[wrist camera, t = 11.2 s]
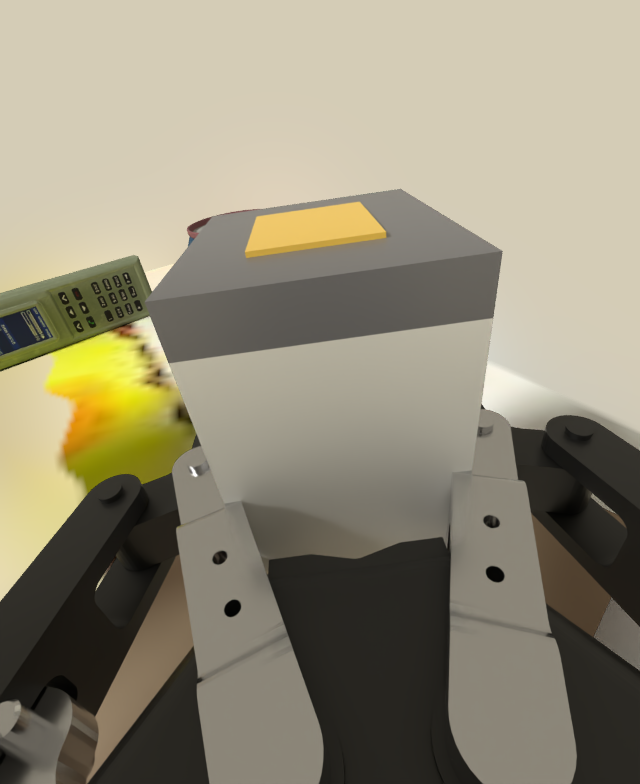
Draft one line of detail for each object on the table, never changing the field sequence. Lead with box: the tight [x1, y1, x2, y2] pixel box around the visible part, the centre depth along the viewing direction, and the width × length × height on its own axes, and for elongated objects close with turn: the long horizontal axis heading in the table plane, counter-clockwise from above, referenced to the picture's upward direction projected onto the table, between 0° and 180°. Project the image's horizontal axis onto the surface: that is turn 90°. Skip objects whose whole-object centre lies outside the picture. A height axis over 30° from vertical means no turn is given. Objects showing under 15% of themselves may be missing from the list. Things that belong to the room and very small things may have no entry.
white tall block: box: [145, 189, 502, 574], centre depth 11 cm, size 5×6×12 cm
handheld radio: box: [0, 255, 152, 372], centre depth 39 cm, size 7×3×25 cm
